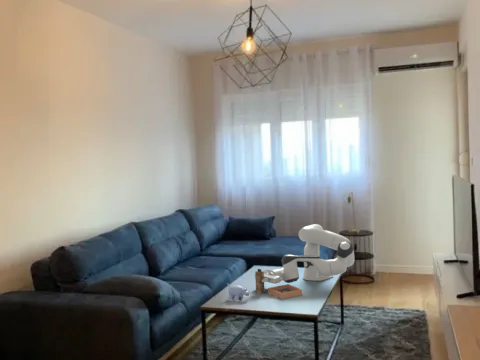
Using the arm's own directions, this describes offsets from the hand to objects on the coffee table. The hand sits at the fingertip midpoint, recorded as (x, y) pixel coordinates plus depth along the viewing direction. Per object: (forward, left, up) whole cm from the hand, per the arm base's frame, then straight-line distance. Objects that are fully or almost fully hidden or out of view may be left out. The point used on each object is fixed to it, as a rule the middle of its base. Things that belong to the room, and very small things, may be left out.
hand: (258, 280), depth 319 cm
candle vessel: (-12, +13, -8) cm, 19 cm away
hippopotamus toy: (+18, +5, -9) cm, 21 cm away
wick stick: (-1, 0, -8) cm, 8 cm away
